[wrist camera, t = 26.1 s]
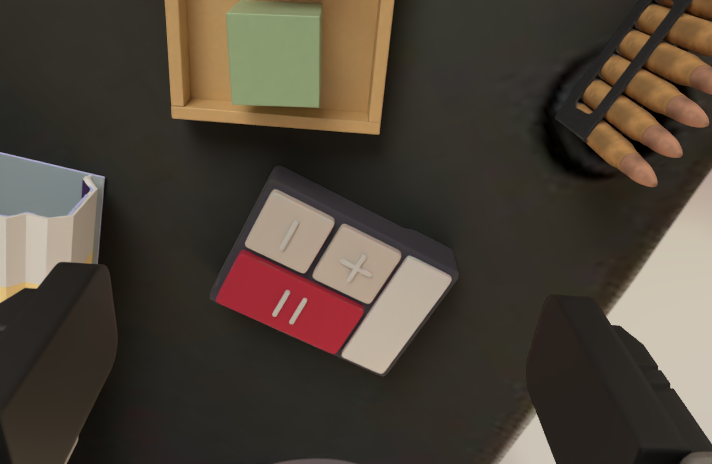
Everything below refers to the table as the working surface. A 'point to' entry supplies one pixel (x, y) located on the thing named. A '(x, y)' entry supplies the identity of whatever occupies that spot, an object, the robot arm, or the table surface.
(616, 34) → the ammunition clip
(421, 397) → the table surface
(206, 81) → the tray
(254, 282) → the calculator
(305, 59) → the green block
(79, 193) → the diorama
